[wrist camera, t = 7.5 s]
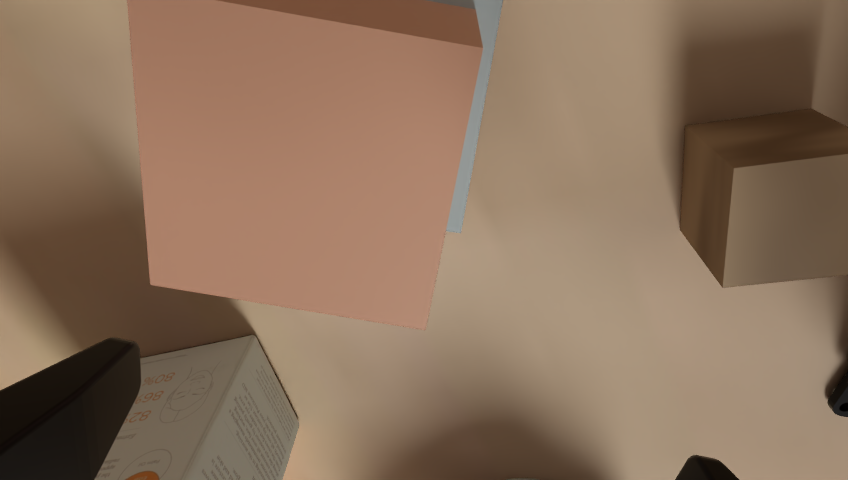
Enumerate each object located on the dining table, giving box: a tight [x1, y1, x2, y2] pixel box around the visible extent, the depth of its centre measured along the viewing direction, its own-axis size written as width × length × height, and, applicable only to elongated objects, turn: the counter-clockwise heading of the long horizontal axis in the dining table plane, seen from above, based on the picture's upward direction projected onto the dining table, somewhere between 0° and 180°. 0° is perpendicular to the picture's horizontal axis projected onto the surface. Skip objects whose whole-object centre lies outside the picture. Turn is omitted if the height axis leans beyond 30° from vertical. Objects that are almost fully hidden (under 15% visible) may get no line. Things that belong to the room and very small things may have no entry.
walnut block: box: [680, 109, 848, 288], centre depth 18 cm, size 4×4×4 cm
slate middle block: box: [427, 0, 503, 233], centre depth 14 cm, size 5×5×4 cm
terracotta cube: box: [127, 0, 483, 330], centre depth 10 cm, size 4×4×4 cm
